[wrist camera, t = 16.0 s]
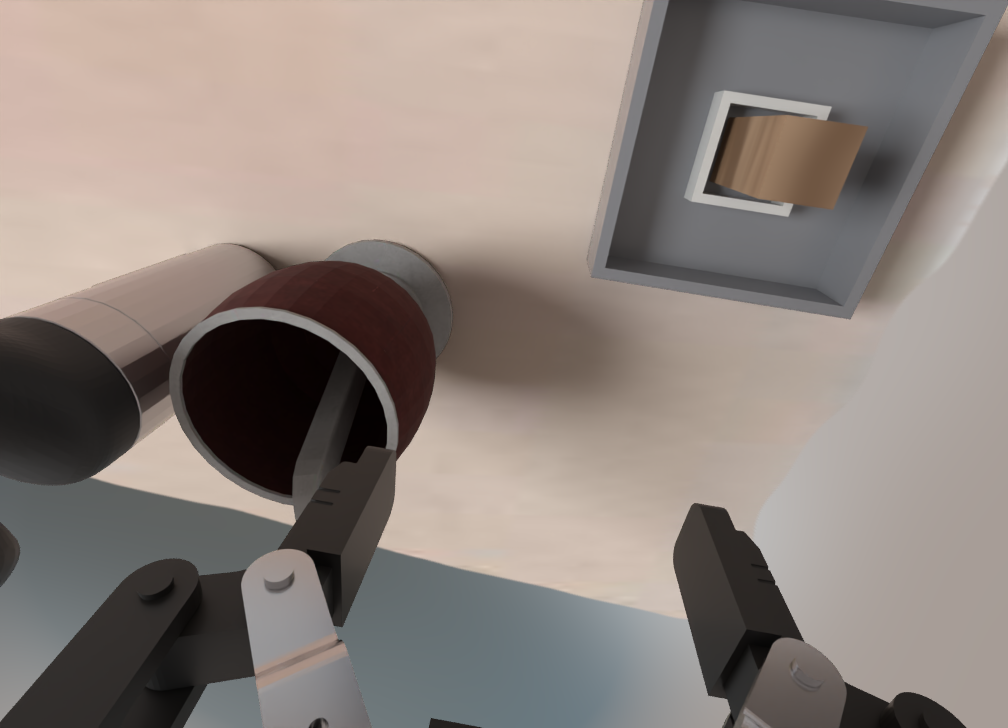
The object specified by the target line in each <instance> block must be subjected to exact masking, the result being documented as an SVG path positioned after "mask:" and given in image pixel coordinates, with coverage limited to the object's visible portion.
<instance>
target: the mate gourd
mask: <svg viewBox="0 0 1008 728" xmlns="http://www.w3.org/2000/svg"><path fill="white" fill-rule="evenodd" d="M452 321H453V311H452V304H451V299H450V296H449V293H448V290H447V288H446V286H445V284H444V282H443V281H442V279H441V277H440V275H439V274H438V273H437V272H436V271H435V269H434V268H433V267H432V266H431V265H430V264H429V263H428V262H427V261H426V260H425V259H423V258H422V257H421V256H420V255H419V254H417V253H415V252H414V251H412V250H410V249H408V248H407V247H405V246H402V245H399V244H396V243H393V242H390V241H383V240H362V241H358V242H355V243H351V244H348V245H346V246H344V247H343V248H341V249H339V250H337V251H335V252H334V253H333V254H332V255H330V256H329V257H328V258H327V259H326V260H325V261H318V262H307V263H303V264H299V265H294V266H290V267H287V268H283V269H280V270H276V271H273V272H271V273H269V274H267V275H265V276H263V277H261V278H259V279H257V280H255V281H253V282H251V283H250V284H248V285H246V286H244V287H243V288H241V289H239V290H237V291H235V292H234V293H232V294H231V295H230V296H229V297H228V298H226V299H225V300H224V301H223V302H222V303H221V304H220V305H218V306H217V307H216V308H215V309H214V310H213V311H212V312H211V313H210V314H209V315H208V316H207V317H206V318H205V319H204V320H203V321H202V322H200V323H199V324H197V325H196V326H195V327H194V328H193V329H192V330H191V331H190V332H189V333H188V334H187V335H186V336H185V337H184V338H183V339H182V341H181V342H180V344H179V346H178V348H177V349H176V351H175V353H174V355H173V359H172V363H171V367H170V372H169V392H170V396H171V400H172V405H173V409H174V412H175V414H176V416H177V419H178V421H179V423H180V425H181V428H182V430H183V431H184V433H185V434H186V436H187V437H188V439H189V440H190V442H191V443H192V445H193V446H194V448H195V449H196V450H197V451H198V452H199V453H200V454H201V455H202V456H203V458H204V459H205V460H206V461H207V462H208V463H209V464H210V465H211V466H213V467H214V468H215V469H216V470H217V471H219V472H220V473H221V474H222V475H223V476H225V477H226V478H227V479H229V480H231V481H232V482H234V483H235V484H237V485H239V486H240V487H242V488H243V489H245V490H248V491H250V492H252V493H254V494H256V495H258V496H261V497H263V498H266V499H269V500H272V501H276V502H279V503H282V504H287V505H293V506H294V513H295V519H296V521H297V520H298V518H299V516H300V515H301V513H302V512H303V510H304V509H305V507H306V506H307V504H308V503H309V502H310V501H311V498H312V497H313V495H314V494H315V492H316V491H317V490H318V489H319V486H320V484H321V483H322V481H323V480H324V478H325V477H326V475H327V474H328V472H330V471H331V470H333V469H334V468H335V467H337V466H338V465H340V464H341V463H342V462H344V461H346V462H352V463H357V462H358V460H359V459H360V457H361V455H362V454H363V452H364V450H365V449H366V447H367V446H373V447H379V448H385V449H391V450H395V451H396V461H397V460H398V458H399V457H400V456H401V454H402V453H403V452H404V450H405V449H406V448H407V446H408V445H409V444H410V442H411V441H412V439H413V437H414V435H415V434H416V432H417V430H418V428H419V426H420V424H421V422H422V420H423V417H424V415H425V413H426V411H427V408H428V405H429V402H430V398H431V395H432V391H433V385H434V379H435V367H436V358H437V357H438V356H439V355H440V354H441V352H442V351H443V349H444V347H445V345H446V343H447V342H448V340H449V336H450V333H451V329H452Z"/></svg>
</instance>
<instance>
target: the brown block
mask: <svg viewBox="0 0 1008 728" xmlns="http://www.w3.org/2000/svg"><path fill="white" fill-rule="evenodd" d="M867 129H868V127H867V126H860V125H853V124H846V123H839V122H832V121H825V120H819V119H812V118H805V117H798V116H791V115H775V116H753V117H730V118H729V119H728V123H727V126H726V129H725V132H724V136H723V139H722V142H721V146H720V149H719V152H718V155H717V159H716V162H715V165H714V168H713V172H712V175H711V178H710V181H711V182H713V183H716V184H719V185H722V186H724V187H727V188H730V189H733V190H735V191H738V192H741V193H744V194H746V195H749V196H752V197H755V198H758V199H764V200H771V201H777V202H784V203H791V204H797V205H804V206H811V207H817V208H824V209H831V210H833V208H834V206H835V204H836V201H837V199H838V197H839V194H840V192H841V190H842V187H843V185H844V183H845V180H846V178H847V176H848V173H849V171H850V169H851V166H852V164H853V162H854V159H855V157H856V155H857V152H858V150H859V148H860V145H861V143H862V141H863V138H864V136H865V134H866V131H867Z"/></svg>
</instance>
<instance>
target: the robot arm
mask: <svg viewBox="0 0 1008 728" xmlns="http://www.w3.org/2000/svg"><path fill="white" fill-rule="evenodd" d="M273 271H276V270H275V269H274V268H273V267H272V265H271V264H270V263H269V262H267V261H266V260H265V259H264V258H263V257H261V256H260V255H258V254H257V253H255V252H253V251H251V250H250V249H247V248H244V247H242V246H239V245H233V244H216V245H213V246H210V247H207V248H204V249H201V250H198V251H195V252H192V253H189V254H183V255H180V256H177V257H174V258H171V259H168V260H165V261H162V262H160V263H157V264H154V265H151V266H148V267H145V268H142V269H139V270H136V271H134V272H131V273H128V274H125V275H122V276H119V277H116V278H113V279H110V280H108V281H105V282H102V283H99V284H96V285H94V286H92V287H91V288H88V289H85V290H82V291H79V292H77V293H74V294H71V295H68V296H65V297H62V298H59V299H57V300H54V301H52V302H49V303H46V304H43V305H40V306H37V307H34V308H32V309H29V310H26V311H23V312H20V313H17V314H14V315H11V316H9V317H6V318H3V319H0V475H1V476H4V477H7V478H10V479H14V480H17V481H21V482H26V483H31V484H37V485H66V484H71V483H76V482H79V481H82V480H84V479H87V478H89V477H91V476H93V475H95V474H97V473H98V472H100V471H101V470H103V469H104V468H106V467H107V466H109V465H110V464H111V463H113V462H114V461H115V460H117V459H118V458H119V457H120V456H122V455H123V454H124V453H126V452H127V451H128V450H129V449H131V448H132V447H133V446H135V445H136V444H137V443H138V442H140V441H141V440H142V439H144V438H145V437H146V436H148V435H149V434H150V433H152V432H153V431H154V430H156V429H157V428H158V427H160V426H161V425H162V424H163V423H165V422H166V421H167V420H168V419H170V418H171V417H172V416H174V415H175V412H174V409H173V405H172V400H171V396H170V392H169V372H170V367H171V363H172V359H173V355H174V353H175V351H176V349H177V348H178V346H179V344H180V342H181V341H182V339H183V338H184V337H185V336H186V335H187V334H188V333H189V332H190V331H191V330H192V329H193V328H194V327H195V326H196V325H197V324H199V323H200V322H202V321H203V320H204V319H205V318H206V317H207V316H208V315H209V314H210V313H211V312H212V311H213V310H214V309H215V308H216V307H217V306H218V305H220V304H221V303H222V302H223V301H224V300H225V299H226V298H228V297H229V296H230V295H231V294H232V293H234V292H235V291H237V290H239V289H241V288H243V287H244V286H246V285H248V284H250V283H251V282H253V281H255V280H257V279H259V278H261V277H263V276H265V275H267V274H269V273H271V272H273ZM395 477H396V451H395V450H391V449H385V448H379V447H373V446H367V447H366V449H365V450H364V452H363V454H362V455H361V457H360V459H359V460H358V462H357V463H352V462H346V461H344V462H342V463H341V464H340V465H338V466H337V467H335V468H334V469H333V470H331V471H330V472H328V474H327V475H326V477H325V478H324V480H323V481H322V483H321V484H320V486H319V489H318V490H317V491H316V492H315V494H314V495H313V497H312V498H311V501H310V502H309V503H308V504H307V506H306V507H305V509H304V510H303V512H302V513H301V515H300V516H299V518H298V520H297V521H296V523H295V524H294V526H293V527H292V529H291V530H290V532H289V533H288V535H287V536H286V538H285V539H284V541H283V542H282V544H281V546H280V547H279V548H278V550H277V551H273V552H270V553H268V554H265V555H263V556H262V557H260V558H259V559H257V560H256V561H255V562H253V563H252V564H251V565H250V566H249V568H248V569H246V570H242V571H237V572H230V573H221V574H211V575H201V576H199V574H198V571H197V568H196V567H195V566H194V565H193V564H192V563H190V562H189V561H186V560H182V559H164V560H159V561H156V562H153V563H150V564H148V565H145V566H143V567H142V568H140V569H138V570H136V571H135V572H133V573H132V574H130V575H129V576H128V577H127V578H126V579H125V580H123V581H122V582H121V584H120V585H119V586H118V587H117V588H116V589H115V591H114V592H113V593H112V594H111V595H110V596H109V598H107V600H106V601H105V602H104V603H103V604H102V605H101V607H100V608H99V609H98V610H97V611H96V612H95V613H94V615H93V616H92V617H91V618H90V619H89V620H88V622H87V623H86V624H85V625H84V626H83V627H82V628H81V630H80V631H79V632H78V633H77V634H76V635H75V637H74V638H73V639H72V640H71V641H70V642H69V643H68V645H67V646H66V647H65V648H64V649H63V650H62V652H61V653H60V654H59V655H58V656H57V657H56V658H55V659H54V661H53V662H52V663H51V664H50V665H49V666H48V668H47V669H46V670H45V671H44V672H43V673H42V675H41V676H40V677H39V678H38V679H37V680H36V681H35V682H34V684H33V685H32V686H31V687H30V688H29V689H28V691H27V692H26V693H25V694H24V695H23V696H22V697H21V699H20V700H19V701H18V702H17V703H16V705H15V706H14V707H13V708H12V709H11V710H10V711H9V712H8V714H7V715H6V716H5V717H4V718H3V719H2V721H1V722H0V728H183V727H184V725H185V723H186V721H187V720H188V718H189V716H190V714H191V713H192V711H193V709H194V707H195V706H196V704H197V702H198V700H199V698H200V697H201V695H202V693H203V691H204V690H205V688H206V686H207V684H209V683H215V682H221V681H227V680H233V679H240V678H246V677H252V676H255V677H256V684H257V690H258V697H259V703H260V709H261V716H262V722H263V728H372V727H371V723H370V720H369V717H368V714H367V711H366V708H365V705H364V701H363V698H362V695H361V692H360V689H359V686H358V683H357V680H356V676H355V673H354V671H353V667H352V664H351V661H350V658H349V655H348V652H347V649H346V646H345V644H344V642H343V641H342V640H338V638H337V635H336V632H335V629H334V626H339V627H343V625H344V623H345V620H346V618H347V615H348V613H349V611H350V608H351V606H352V603H353V601H354V599H355V597H356V594H357V592H358V590H359V587H360V585H361V583H362V580H363V578H364V575H365V573H366V571H367V568H368V566H369V564H370V561H371V559H372V556H373V554H374V552H375V549H376V547H377V545H378V542H379V540H380V538H381V535H382V533H383V531H384V528H385V526H386V524H387V521H388V519H389V516H390V514H391V510H392V507H393V502H394V496H395ZM19 555H20V547H19V543H18V541H17V540H16V538H15V537H14V536H13V535H12V534H11V532H10V531H9V530H8V529H7V528H6V527H5V526H4V525H3V524H2V523H1V522H0V587H1V586H2V585H3V584H4V583H5V581H6V580H7V578H8V577H9V576H10V575H11V573H12V571H13V570H14V568H15V566H16V564H17V562H18V560H19ZM673 564H674V569H675V573H676V577H677V581H678V584H679V588H680V592H681V596H682V599H683V603H684V607H685V610H686V614H687V618H688V622H689V625H690V629H691V632H692V636H693V640H694V644H695V648H696V651H697V655H698V659H699V663H700V666H701V670H702V674H703V678H704V681H705V685H706V688H707V693H708V695H709V696H714V697H719V698H725V699H727V700H728V703H729V706H730V710H731V712H730V713H729V715H728V716H727V718H726V720H725V722H724V725H723V726H722V728H966V727H965V726H964V725H963V724H962V723H961V722H960V721H959V720H958V719H957V718H956V717H955V716H954V715H953V714H952V713H950V712H949V711H948V710H946V709H945V708H944V707H942V706H941V705H939V704H938V703H936V702H935V701H933V700H931V699H929V698H927V697H924V696H922V695H919V694H916V693H911V692H904V693H900V694H898V695H897V696H896V697H895V698H894V699H893V700H892V701H891V703H888V702H886V701H884V700H882V699H880V698H877V697H875V696H873V695H871V694H868V693H867V692H864V691H862V690H860V689H858V688H856V687H854V686H851V685H850V684H848V683H846V682H844V680H843V679H842V676H841V675H840V673H839V672H838V670H837V668H836V667H835V666H834V665H833V663H832V662H831V661H830V660H829V659H828V658H827V657H826V656H824V655H823V654H822V653H821V652H820V651H818V650H817V649H816V648H814V647H812V646H811V645H809V644H807V643H805V642H804V640H803V638H802V636H801V634H800V632H799V630H798V628H797V626H796V624H795V622H794V620H793V617H792V615H791V613H790V611H789V609H788V607H787V605H786V603H785V601H784V599H783V596H782V594H781V593H780V590H779V588H778V586H776V585H775V580H774V578H773V576H772V574H771V572H770V571H769V570H768V565H767V563H766V561H765V559H764V557H763V555H762V553H761V551H760V549H759V548H758V547H757V546H756V544H755V543H754V542H753V541H752V540H751V539H750V538H749V537H748V536H747V534H746V533H745V532H743V531H737V530H735V528H734V525H733V523H732V521H731V519H730V516H729V514H728V512H727V511H726V509H724V508H721V507H715V506H710V505H704V504H698V503H694V504H693V505H692V506H691V508H690V510H689V512H688V514H687V517H686V519H685V522H684V524H683V526H682V529H681V531H680V534H679V536H678V538H677V541H676V543H675V547H674V553H673ZM429 728H481V727H476V726H470V725H465V724H460V723H455V722H449V721H444V720H438V719H433V718H431V720H430V725H429Z"/></svg>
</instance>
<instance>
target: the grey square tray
mask: <svg viewBox="0 0 1008 728" xmlns="http://www.w3.org/2000/svg"><path fill="white" fill-rule="evenodd" d="M1007 5H1008V0H644V1H643V6H642V10H641V15H640V19H639V24H638V28H637V33H636V38H635V42H634V47H633V51H632V56H631V60H630V65H629V70H628V74H627V79H626V83H625V88H624V92H623V97H622V101H621V106H620V111H619V115H618V120H617V124H616V129H615V133H614V138H613V143H612V147H611V152H610V156H609V161H608V165H607V170H606V174H605V179H604V184H603V188H602V193H601V197H600V202H599V206H598V211H597V216H596V220H595V225H594V229H593V234H592V238H591V243H590V248H589V252H588V257H587V262H588V266H589V271H590V275H591V277H593V278H599V279H605V280H611V281H617V282H623V283H630V284H636V285H642V286H648V287H654V288H660V289H667V290H673V291H679V292H685V293H691V294H697V295H703V296H710V297H716V298H722V299H728V300H734V301H740V302H747V303H753V304H759V305H765V306H771V307H777V308H783V309H790V310H796V311H802V312H808V313H814V314H820V315H827V316H833V317H839V318H845V319H851V317H852V315H853V313H854V311H855V309H856V307H857V305H858V303H859V301H860V299H861V297H862V295H863V293H864V291H865V289H866V287H867V285H868V283H869V281H870V279H871V277H872V275H873V273H874V271H875V269H876V267H877V265H878V263H879V261H880V259H881V257H882V255H883V253H884V251H885V249H886V247H887V245H888V243H889V241H890V239H891V237H892V235H893V233H894V231H895V229H896V227H897V225H898V223H899V221H900V219H901V217H902V215H903V213H904V211H905V209H906V207H907V205H908V203H909V201H910V199H911V197H912V195H913V193H914V191H915V189H916V187H917V185H918V183H919V181H920V179H921V177H922V175H923V173H924V171H925V169H926V167H927V165H928V163H929V161H930V159H931V157H932V155H933V153H934V151H935V149H936V147H937V145H938V143H939V141H940V139H941V137H942V135H943V133H944V131H945V129H946V127H947V125H948V123H949V121H950V119H951V117H952V115H953V113H954V111H955V109H956V107H957V105H958V103H959V101H960V99H961V97H962V95H963V93H964V91H965V89H966V87H967V85H968V83H969V81H970V79H971V77H972V75H973V73H974V71H975V69H976V67H977V65H978V63H979V61H980V59H981V57H982V55H983V53H984V51H985V49H986V47H987V45H988V43H989V41H990V39H991V37H992V35H993V33H994V31H995V29H996V27H997V25H998V23H999V21H1000V19H1001V17H1002V15H1003V13H1004V11H1005V9H1006V7H1007ZM775 115H791V116H798V117H805V118H812V119H819V120H825V121H832V122H839V123H846V124H853V125H860V126H867V127H868V129H867V131H866V134H865V136H864V138H863V141H862V143H861V145H860V148H859V150H858V152H857V155H856V157H855V159H854V162H853V164H852V166H851V169H850V171H849V173H848V176H847V178H846V180H845V183H844V185H843V187H842V190H841V192H840V194H839V197H838V199H837V201H836V204H835V206H834V208H833V210H831V209H824V208H817V207H811V206H804V205H797V204H791V203H784V202H777V201H771V200H764V199H758V198H755V197H752V196H749V195H746V194H744V193H741V192H738V191H735V190H733V189H730V188H727V187H724V186H722V185H719V184H716V183H713V182H711V181H710V178H711V175H712V172H713V168H714V165H715V162H716V159H717V155H718V152H719V149H720V146H721V142H722V139H723V136H724V132H725V129H726V126H727V123H728V119H729V118H730V117H753V116H775Z"/></svg>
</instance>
